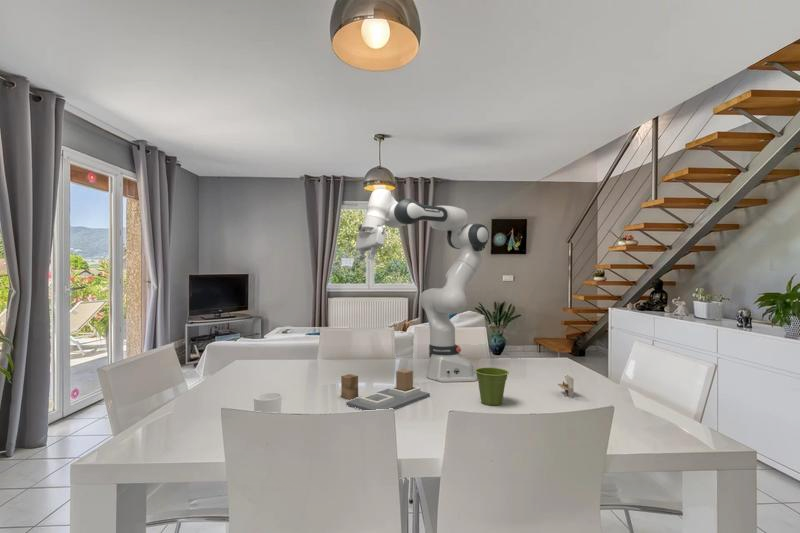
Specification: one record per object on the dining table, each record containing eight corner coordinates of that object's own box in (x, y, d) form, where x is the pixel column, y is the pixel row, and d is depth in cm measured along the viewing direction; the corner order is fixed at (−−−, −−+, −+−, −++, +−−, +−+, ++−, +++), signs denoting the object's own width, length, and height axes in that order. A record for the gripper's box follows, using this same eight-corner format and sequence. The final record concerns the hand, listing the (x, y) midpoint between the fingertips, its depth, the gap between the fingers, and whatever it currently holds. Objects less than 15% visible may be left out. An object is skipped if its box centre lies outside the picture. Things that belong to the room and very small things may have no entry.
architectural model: (564, 399, 153) (564, 378, 153) (557, 393, 160) (557, 374, 160) (573, 398, 153) (573, 378, 153) (566, 393, 160) (566, 374, 160)
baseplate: (397, 388, 166) (397, 365, 166) (429, 396, 156) (429, 371, 156) (346, 405, 146) (346, 378, 146) (379, 415, 135) (379, 387, 135)
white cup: (273, 436, 119) (273, 400, 119) (248, 434, 120) (248, 399, 120) (286, 426, 126) (286, 392, 127) (262, 424, 128) (262, 391, 128)
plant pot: (502, 410, 140) (502, 376, 140) (469, 404, 146) (469, 372, 146) (513, 401, 150) (513, 369, 150) (482, 396, 156) (481, 365, 156)
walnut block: (350, 395, 158) (350, 373, 158) (358, 397, 155) (358, 375, 155) (341, 397, 155) (341, 376, 155) (349, 400, 152) (349, 378, 152)
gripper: (392, 225, 160) (384, 259, 157) (369, 232, 177) (362, 264, 175) (378, 219, 157) (370, 254, 154) (356, 228, 175) (348, 259, 172)
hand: (365, 259), depth 165 cm, fingers open, 8 cm apart
